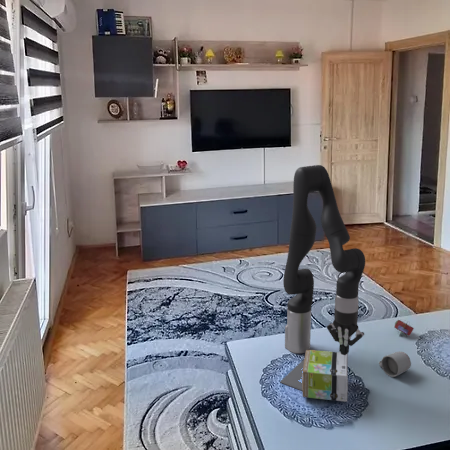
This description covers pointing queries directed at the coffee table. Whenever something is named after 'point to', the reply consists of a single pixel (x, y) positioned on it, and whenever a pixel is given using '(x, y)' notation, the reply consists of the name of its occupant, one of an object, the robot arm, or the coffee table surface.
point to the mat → (294, 377)
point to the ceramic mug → (395, 363)
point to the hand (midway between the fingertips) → (344, 353)
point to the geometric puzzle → (403, 327)
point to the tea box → (325, 375)
